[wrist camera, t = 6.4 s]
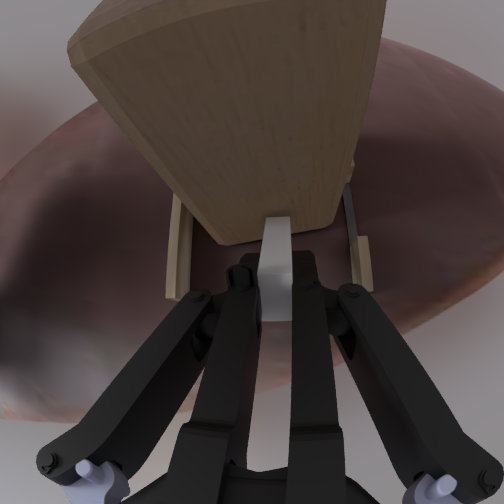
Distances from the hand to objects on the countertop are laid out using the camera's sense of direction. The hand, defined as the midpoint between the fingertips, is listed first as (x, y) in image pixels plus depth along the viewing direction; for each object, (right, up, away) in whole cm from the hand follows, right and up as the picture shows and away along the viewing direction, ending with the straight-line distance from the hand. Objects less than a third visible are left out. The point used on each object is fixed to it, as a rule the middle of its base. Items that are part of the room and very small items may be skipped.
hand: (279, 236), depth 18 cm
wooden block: (0, +5, +7) cm, 8 cm away
